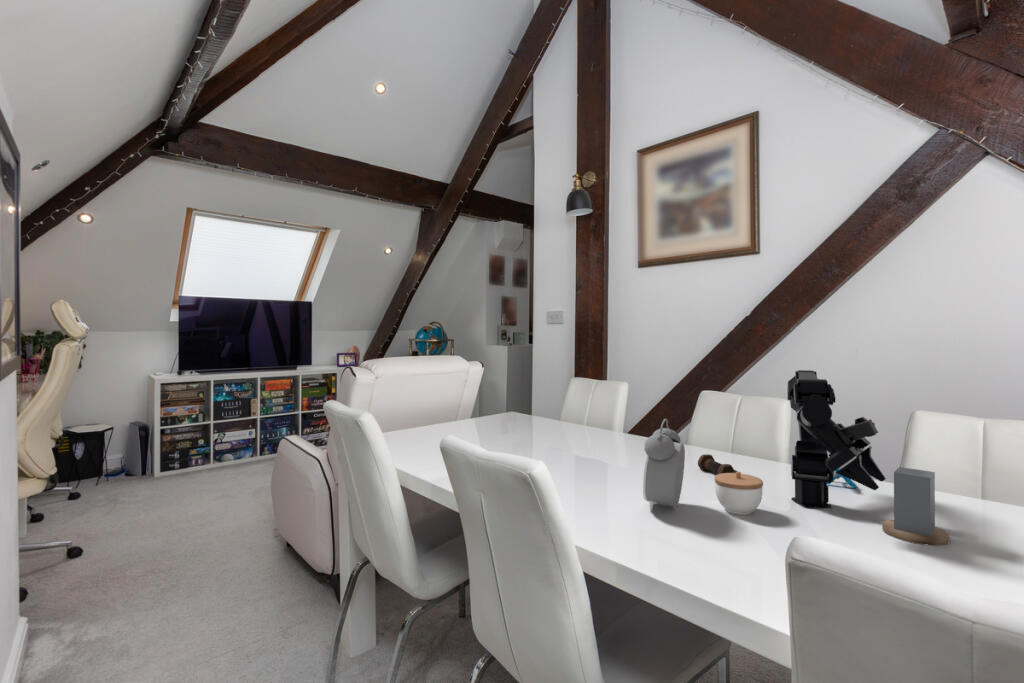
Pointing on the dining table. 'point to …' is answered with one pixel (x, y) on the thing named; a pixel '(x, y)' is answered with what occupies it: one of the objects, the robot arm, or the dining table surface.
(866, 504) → the dining table surface
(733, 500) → the lidded jar
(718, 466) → the bolt
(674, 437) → the alarm clock
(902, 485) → the block
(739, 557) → the dining table surface
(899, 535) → the stub base
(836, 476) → the blue thin-armed part
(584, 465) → the dining table surface
